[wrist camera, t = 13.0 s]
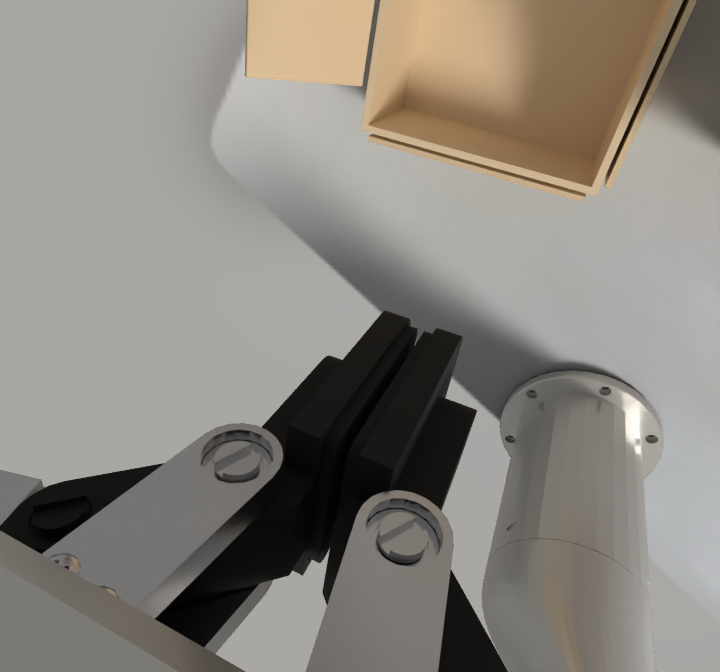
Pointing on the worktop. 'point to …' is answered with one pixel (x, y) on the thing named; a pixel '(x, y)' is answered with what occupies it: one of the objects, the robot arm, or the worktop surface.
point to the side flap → (308, 40)
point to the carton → (520, 84)
